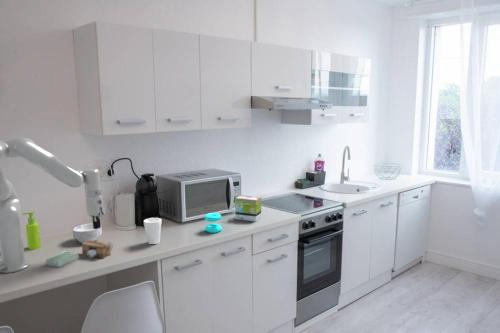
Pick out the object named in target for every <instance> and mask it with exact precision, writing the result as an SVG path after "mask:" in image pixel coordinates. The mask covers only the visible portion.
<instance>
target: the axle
mask: <svg viewBox="0 0 500 333" xmlns="http://www.w3.org/2000/svg"><path fill="white" fill-rule="evenodd" d="M107 243H109V244H110V250H112V249H113V248H114V245H113V243H112V242H111V241H108V242H107ZM86 257H87V258H89V259H93V258H95V257H97V251H96V248H94V249H92V250H89V251H87V255H86Z"/></svg>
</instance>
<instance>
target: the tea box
mask: <svg viewBox="0 0 500 333" xmlns="http://www.w3.org/2000/svg"><path fill="white" fill-rule="evenodd" d="M234 207H235V208H234V211H235V213H234V214H235V216H234V217H235V220H240V221H248V222H249V221H250V222H255V223H256V222H258V221H259V220H260V219H261V218H262V197H261V196H255V195H246V194H245V195H244V194H240V195H239V196H237V197H235V198H234Z"/></svg>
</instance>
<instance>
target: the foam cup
mask: <svg viewBox="0 0 500 333" xmlns="http://www.w3.org/2000/svg"><path fill="white" fill-rule="evenodd" d="M162 222H163V221H162V218H159V217H150V218H146V219H144V220H143V226H144V231H145V235H146V241H147V244H148V243H149V244H156V243H159V242H160V241H161V232H162V231H161V230H162ZM160 243H161V242H160ZM160 243H159V244H160ZM149 244H148V245H149ZM156 245H157V244H156Z"/></svg>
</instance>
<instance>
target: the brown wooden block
mask: <svg viewBox="0 0 500 333" xmlns="http://www.w3.org/2000/svg"><path fill="white" fill-rule="evenodd" d="M81 248H82V249H81V250H82V255H83V256H87V251H89V250H92V249H94V248H96V251H97V256H96V257H97V258H100V259H105V257H106V258H108V257H110V256H111V255H112V251H111V250H112V249H111V250H110V244H109V243H108V242H103V241H102V242H101V241H97V240H96V241H91V240H89V241H86V242H84V243H81ZM107 256H108V257H107Z"/></svg>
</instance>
